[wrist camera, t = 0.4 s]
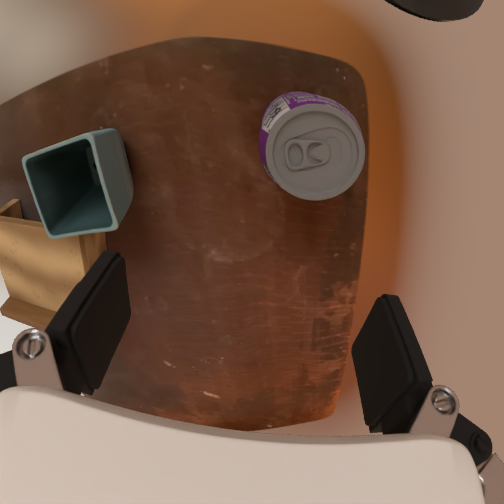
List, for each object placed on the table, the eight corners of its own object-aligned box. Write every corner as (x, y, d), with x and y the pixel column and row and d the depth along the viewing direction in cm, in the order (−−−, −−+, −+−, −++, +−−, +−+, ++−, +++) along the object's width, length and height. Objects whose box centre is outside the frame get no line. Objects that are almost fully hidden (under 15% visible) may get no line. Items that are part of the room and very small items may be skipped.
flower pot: (152, 192, 32) (119, 230, 24) (89, 204, 33) (48, 241, 25) (135, 115, 28) (91, 131, 20) (69, 135, 29) (20, 157, 21)
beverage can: (265, 163, 30) (264, 211, 20) (257, 94, 26) (250, 101, 16) (335, 158, 29) (371, 203, 19) (331, 89, 26) (370, 95, 15)
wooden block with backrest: (13, 198, 33) (-29, 229, 25) (103, 209, 33) (63, 248, 25) (32, 278, 40) (2, 315, 32) (114, 298, 41) (88, 345, 33)
